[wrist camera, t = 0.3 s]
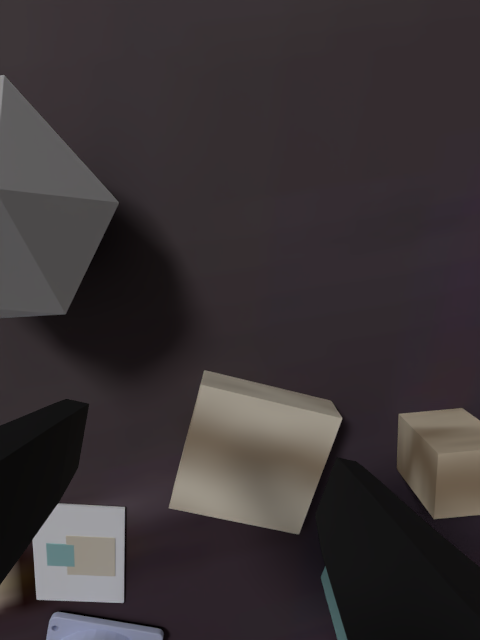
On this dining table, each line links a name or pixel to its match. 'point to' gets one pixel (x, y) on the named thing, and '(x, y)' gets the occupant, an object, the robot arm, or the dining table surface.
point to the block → (441, 460)
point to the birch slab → (254, 453)
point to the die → (44, 213)
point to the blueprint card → (81, 554)
